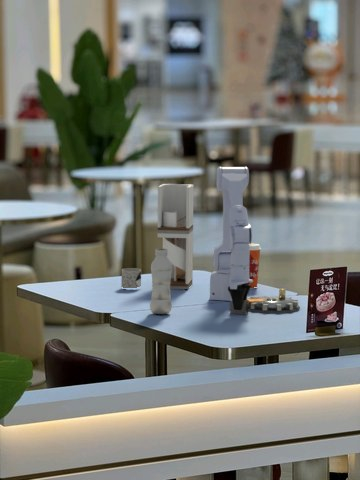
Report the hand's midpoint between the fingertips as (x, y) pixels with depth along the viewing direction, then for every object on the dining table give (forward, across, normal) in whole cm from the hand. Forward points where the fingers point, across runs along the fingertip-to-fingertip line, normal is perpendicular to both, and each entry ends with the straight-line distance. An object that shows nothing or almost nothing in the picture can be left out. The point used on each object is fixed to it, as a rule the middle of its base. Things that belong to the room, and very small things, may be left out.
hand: (239, 308), depth 378 cm
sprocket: (+1, +12, -7) cm, 14 cm away
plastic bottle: (+2, -10, +22) cm, 24 cm away
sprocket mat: (+1, +12, -7) cm, 14 cm away
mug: (+2, +30, +47) cm, 56 cm away
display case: (+2, +38, +34) cm, 51 cm away
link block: (+2, 0, 0) cm, 2 cm away
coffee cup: (+2, +46, +10) cm, 47 cm away
